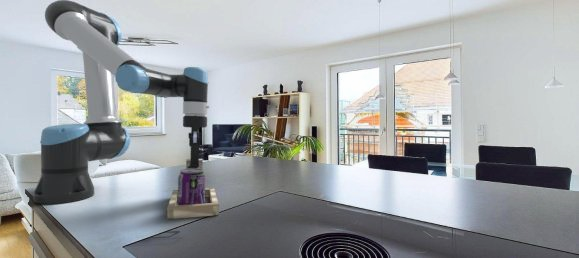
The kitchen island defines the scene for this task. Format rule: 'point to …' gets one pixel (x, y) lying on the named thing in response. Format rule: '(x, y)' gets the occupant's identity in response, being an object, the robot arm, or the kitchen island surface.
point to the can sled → (193, 209)
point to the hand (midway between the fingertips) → (194, 185)
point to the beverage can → (191, 186)
